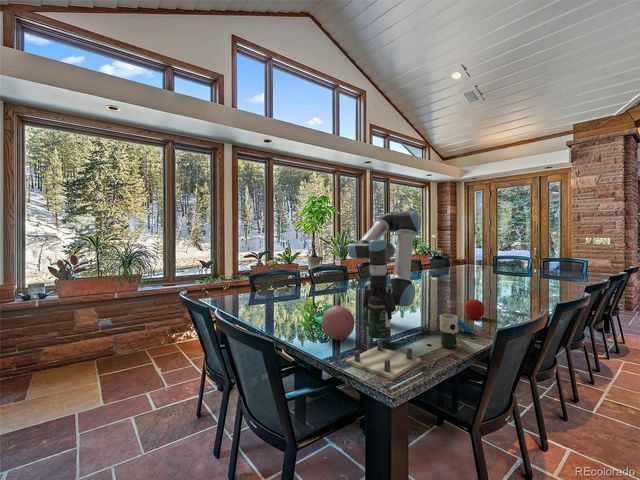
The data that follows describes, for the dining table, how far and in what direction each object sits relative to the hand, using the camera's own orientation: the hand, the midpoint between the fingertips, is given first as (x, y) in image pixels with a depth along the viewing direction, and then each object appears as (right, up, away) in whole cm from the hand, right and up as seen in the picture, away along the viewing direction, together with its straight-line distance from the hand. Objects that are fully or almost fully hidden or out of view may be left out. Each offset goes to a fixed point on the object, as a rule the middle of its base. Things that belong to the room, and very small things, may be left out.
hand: (379, 324), depth 141 cm
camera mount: (-23, -9, +33) cm, 41 cm away
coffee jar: (0, -6, 0) cm, 6 cm away
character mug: (+28, -8, -7) cm, 30 cm away
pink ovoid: (-19, -8, +7) cm, 22 cm away
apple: (+61, -7, +37) cm, 72 cm away
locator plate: (-3, -8, -23) cm, 25 cm away
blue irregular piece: (+42, -7, +12) cm, 45 cm away
